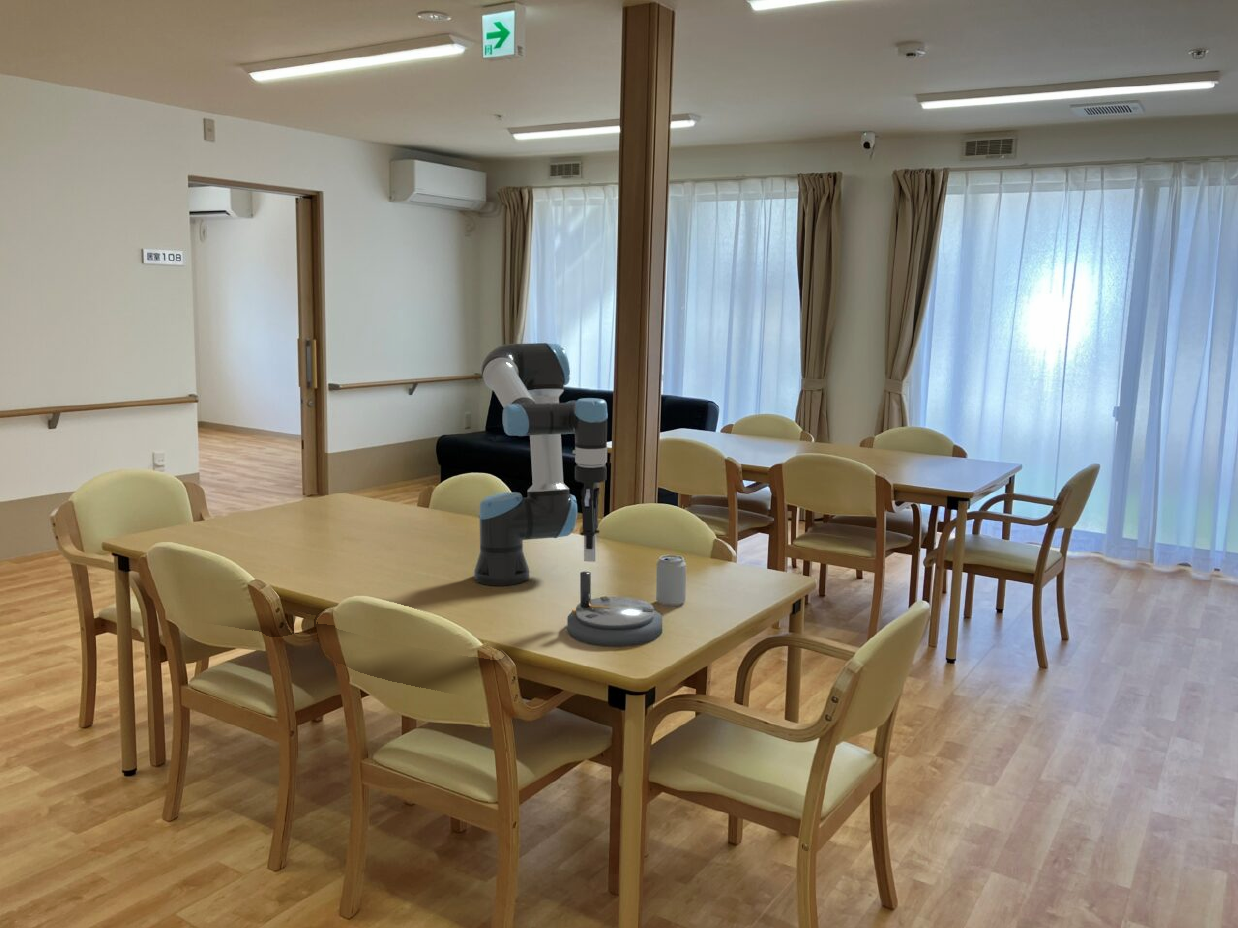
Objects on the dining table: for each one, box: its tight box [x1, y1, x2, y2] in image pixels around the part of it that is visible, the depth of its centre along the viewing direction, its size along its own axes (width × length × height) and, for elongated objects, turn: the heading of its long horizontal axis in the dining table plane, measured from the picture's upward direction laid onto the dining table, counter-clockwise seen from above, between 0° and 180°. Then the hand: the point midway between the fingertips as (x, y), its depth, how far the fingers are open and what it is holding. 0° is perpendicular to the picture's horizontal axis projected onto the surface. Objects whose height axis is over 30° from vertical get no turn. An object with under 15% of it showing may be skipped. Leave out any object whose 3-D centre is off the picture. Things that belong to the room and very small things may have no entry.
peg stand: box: [575, 571, 655, 629], centre depth 223 cm, size 18×18×10 cm
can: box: [655, 554, 687, 608], centre depth 245 cm, size 8×8×12 cm
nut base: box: [566, 608, 663, 648], centre depth 224 cm, size 22×22×4 cm
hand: (590, 560), depth 233 cm, fingers closed
